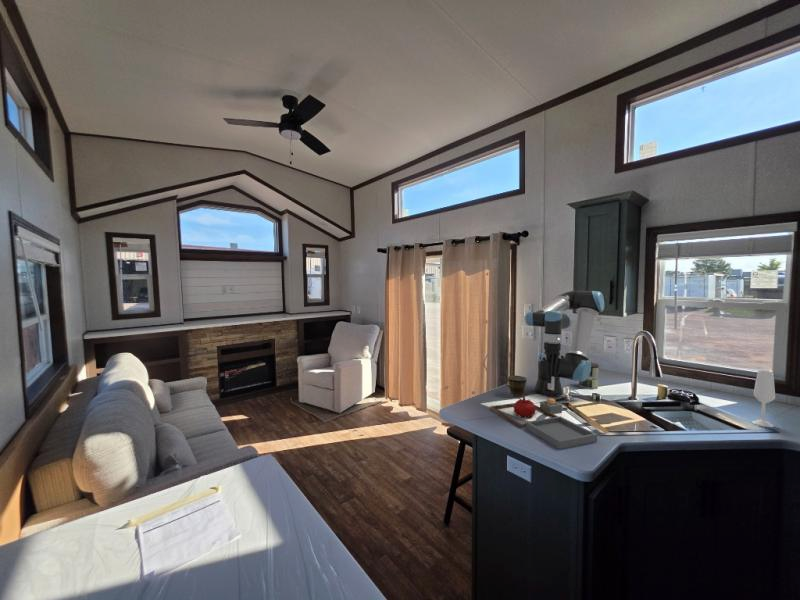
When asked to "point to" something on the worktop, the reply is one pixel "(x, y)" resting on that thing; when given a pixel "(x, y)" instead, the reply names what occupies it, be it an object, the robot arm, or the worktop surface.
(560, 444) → the tray
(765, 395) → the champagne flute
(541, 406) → the button housing
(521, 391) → the ceramic cup
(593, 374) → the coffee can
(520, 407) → the pomegranate
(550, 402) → the button
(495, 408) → the wooden flat square frame
